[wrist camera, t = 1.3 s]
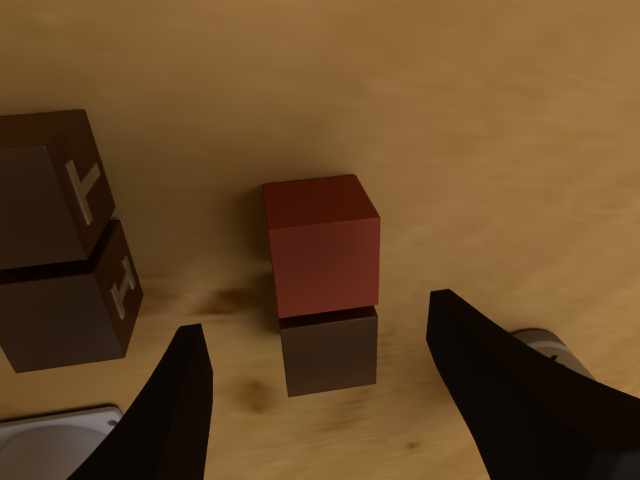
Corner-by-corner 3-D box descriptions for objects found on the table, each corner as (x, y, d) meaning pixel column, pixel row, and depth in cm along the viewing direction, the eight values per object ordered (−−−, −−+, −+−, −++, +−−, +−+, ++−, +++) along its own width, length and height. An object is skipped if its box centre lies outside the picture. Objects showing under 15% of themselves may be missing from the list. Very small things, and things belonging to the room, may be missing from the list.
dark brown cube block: (146, 295, 23) (127, 358, 19) (52, 307, 22) (15, 374, 18) (122, 218, 20) (96, 273, 17) (18, 230, 20) (-33, 289, 16)
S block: (358, 252, 23) (380, 305, 20) (272, 263, 23) (278, 319, 19) (357, 173, 21) (383, 216, 17) (262, 183, 21) (267, 229, 17)
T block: (118, 207, 20) (91, 259, 16) (12, 218, 20) (-41, 275, 16) (88, 108, 18) (48, 143, 14) (-33, 118, 17) (-108, 158, 14)
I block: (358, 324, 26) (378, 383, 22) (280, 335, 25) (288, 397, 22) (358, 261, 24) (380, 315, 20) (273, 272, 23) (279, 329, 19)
